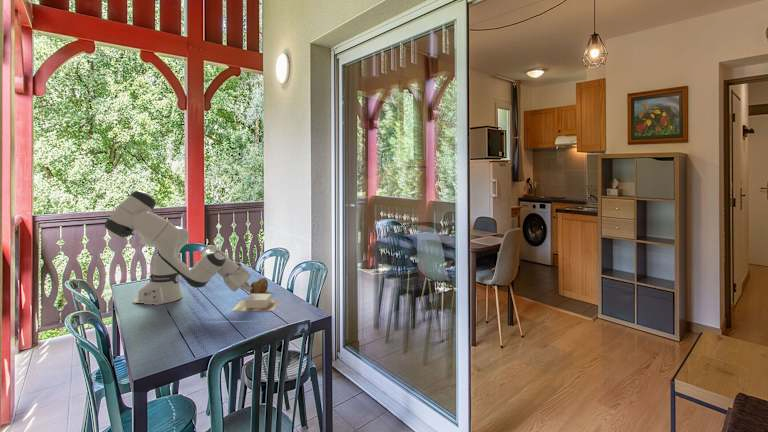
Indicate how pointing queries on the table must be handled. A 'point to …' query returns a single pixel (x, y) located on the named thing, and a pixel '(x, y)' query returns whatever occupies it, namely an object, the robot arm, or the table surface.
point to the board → (242, 307)
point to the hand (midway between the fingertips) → (250, 290)
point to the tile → (258, 301)
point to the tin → (259, 286)
